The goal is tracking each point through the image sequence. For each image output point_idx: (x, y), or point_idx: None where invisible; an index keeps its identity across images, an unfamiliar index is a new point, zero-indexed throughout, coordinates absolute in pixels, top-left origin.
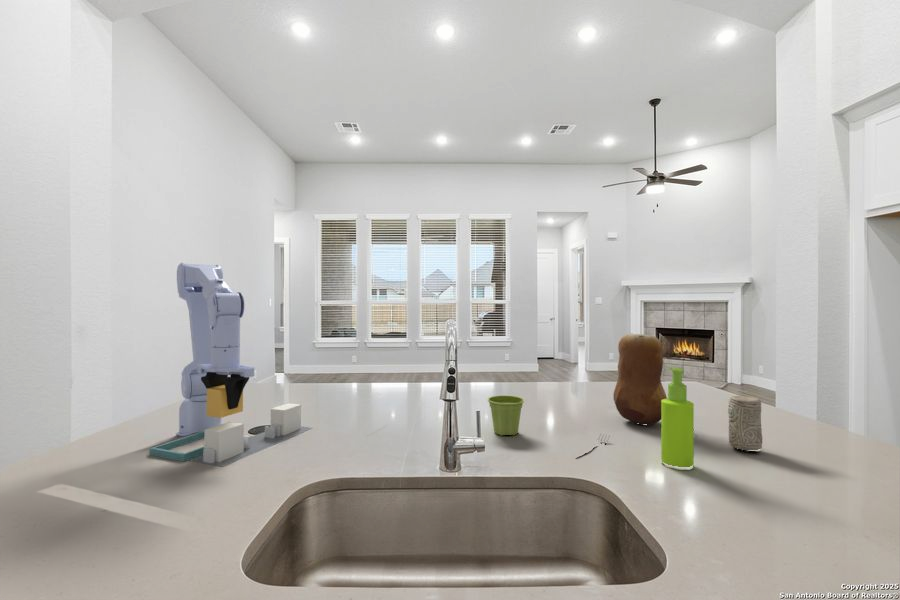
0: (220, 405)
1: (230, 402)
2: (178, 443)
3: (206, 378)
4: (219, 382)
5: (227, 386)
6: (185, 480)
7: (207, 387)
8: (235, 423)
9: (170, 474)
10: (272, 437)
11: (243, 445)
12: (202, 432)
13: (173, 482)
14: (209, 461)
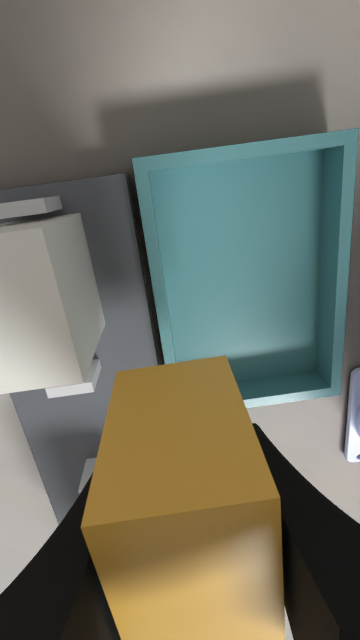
0: (108, 418)
1: (90, 478)
2: (330, 258)
3: (355, 634)
4: (304, 637)
5: (37, 599)
6: (6, 85)
7: (332, 525)
8: (24, 381)
9: (122, 94)
10: (87, 461)
11: None
12: (332, 363)
13: (24, 45)
14: (22, 200)
